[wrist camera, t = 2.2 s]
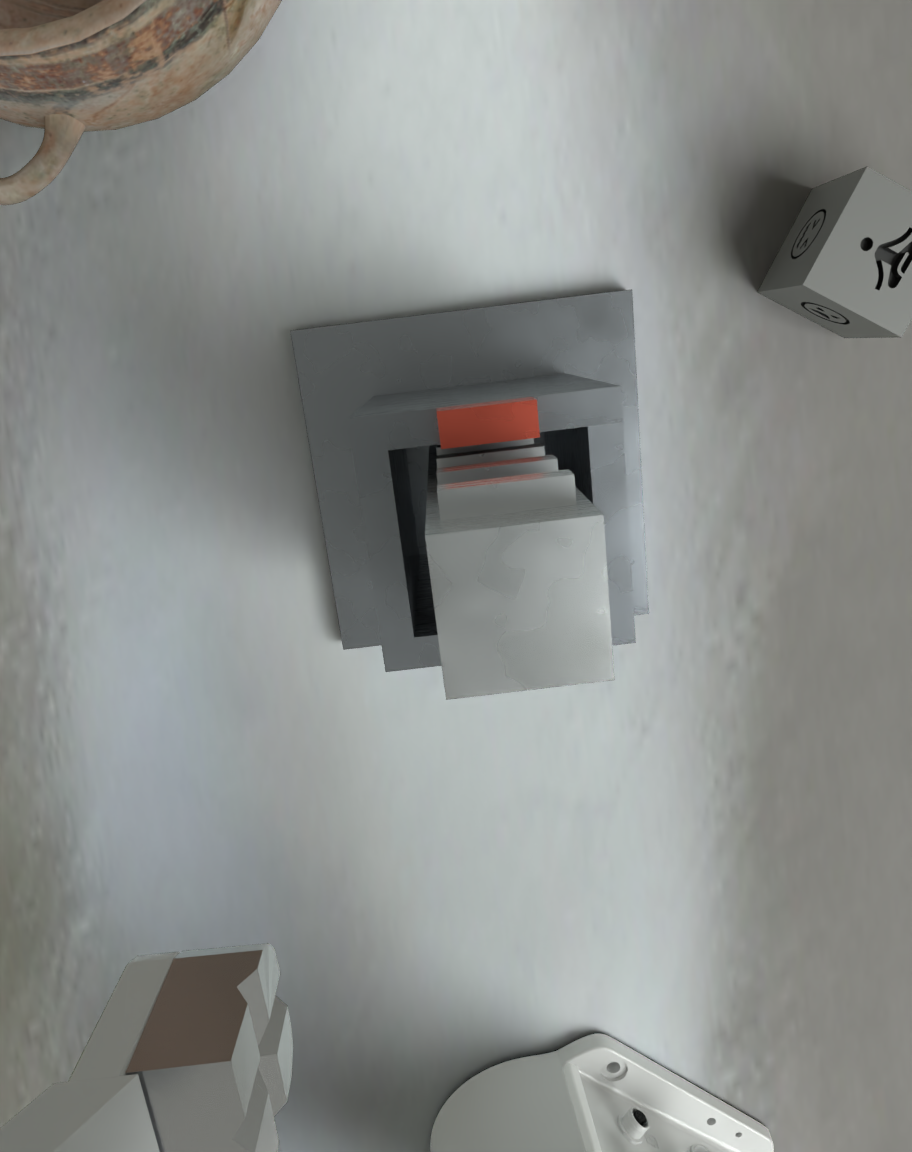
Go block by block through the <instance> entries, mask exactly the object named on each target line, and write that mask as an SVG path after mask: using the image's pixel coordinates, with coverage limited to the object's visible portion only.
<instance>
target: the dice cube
mask: <svg viewBox="0 0 912 1152" xmlns="http://www.w3.org/2000/svg"><path fill="white" fill-rule="evenodd" d="M758 293H760V294H762V295H763V296H765V297H767V298H769V299H771V300H773V301H775V302H777V303H779V304H781V305H783V306H785V307H786V308H788V309H790V310H792V311H794V312H796V313H798V314H800V315H802V316H804V317H806V318H807V319H809V320H811V321H813V322H815V323H817V324H819V325H821V326H823V327H825V328H827V329H828V330H830V331H832V332H834V333H836V334H838V335H840V336H842V337H844V338H884V337H902V335H903V334H904V332H905V330H906V329H907V327H908V325H909V323H910V322H911V320H912V191H910V190H909V189H907V188H905V187H903V186H901V185H900V184H898V183H896V182H894V181H893V180H891V179H889V178H887V177H885V176H884V175H882V174H880V173H878V172H877V171H875V170H873V169H871V168H869V167H868V166H867V167H865V168H862V169H860V170H857V171H855V172H852V173H850V174H847V175H845V176H843V177H840V178H838V179H835V180H833V181H830V182H828V183H825V184H823V185H821V186H818V187H816V188H813V189H812V190H811V192H810V194H809V196H808V198H807V200H806V202H805V203H804V205H803V207H802V209H801V211H800V213H799V215H798V217H797V218H796V220H795V222H794V224H793V226H792V228H791V230H790V232H789V234H788V235H787V237H786V239H785V241H784V243H783V245H782V247H781V249H780V250H779V252H778V254H777V256H776V258H775V260H774V262H773V264H772V265H771V267H770V269H769V271H768V273H767V275H766V277H765V279H764V280H763V282H762V284H761V286H760V288H759V290H758Z"/></svg>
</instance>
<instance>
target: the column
mask: <svg viewBox="0 0 912 1152" xmlns="http://www.w3.org/2000/svg"><path fill="white" fill-rule="evenodd" d="M425 541H426V548H427V556H428V564H429V571H430V579H431V587H432V594H433V602H434V610H435V618H436V625H437V633H438V641H439V648H440V656H441V664H442V671H443V679H444V687H445V694H446V700H448V699H457V698H465V697H474V696H482V695H491V694H499V693H508V692H516V691H525V690H533V689H542V688H550V687H559V686H567V685H576V684H584V683H593V682H601V681H610V680H614V666H613V651H612V636H611V620H610V605H609V590H608V575H607V560H606V545H605V529H604V515H603V514H602V513H601V512H600V511H599V510H598V509H597V508H596V507H595V506H594V505H593V504H592V503H591V502H590V501H589V500H588V499H587V498H586V497H585V496H584V494H583V493H582V492H581V491H580V490H579V489H578V488H577V487H576V486H575V477H574V474H573V473H572V472H571V471H570V470H569V469H567V470H559V469H558V460H557V458H556V457H555V456H554V455H546V456H545V450H544V446H543V445H542V444H541V443H537V444H534V438H531V439H523V440H514V441H506V442H497V443H489V444H481V445H472V446H464V447H456V448H447V449H441V444H437V445H429V462H428V483H427V503H426V524H425Z"/></svg>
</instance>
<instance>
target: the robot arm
mask: <svg viewBox="0 0 912 1152" xmlns="http://www.w3.org/2000/svg"><path fill="white" fill-rule="evenodd" d="M279 977H280V969H279V965H278V961H277V957H276V953H275V949H274V948H273V947H272V946H271V945H270V944H269V943H266V944H254V945H243V946H232V947H221V948H209V949H198V950H187V951H182V952H172V953H161V954H151V955H141V956H137V957H135V958H134V959H133V960H132V961H130V962H129V963H128V964H127V966H126V967H125V969H124V971H123V973H122V975H121V977H120V979H119V981H118V983H117V985H116V987H115V989H114V991H113V993H112V995H111V997H110V999H109V1001H108V1003H107V1005H106V1007H105V1009H104V1011H103V1013H102V1015H101V1017H100V1019H99V1021H98V1023H97V1025H96V1027H95V1029H94V1031H93V1033H92V1035H91V1037H90V1039H89V1041H88V1043H87V1045H86V1047H85V1049H84V1051H83V1053H82V1055H81V1057H80V1059H79V1061H78V1063H77V1065H76V1067H75V1069H74V1071H73V1073H72V1075H71V1077H70V1079H69V1081H68V1082H62V1083H54V1084H53V1085H51V1086H50V1087H49V1088H48V1089H47V1090H45V1091H44V1092H43V1093H42V1094H41V1095H39V1096H38V1097H37V1098H36V1099H35V1100H33V1101H32V1102H31V1103H30V1104H29V1105H27V1106H26V1107H25V1108H24V1109H23V1110H21V1111H20V1112H19V1113H18V1114H17V1115H15V1116H14V1117H13V1118H12V1119H11V1120H9V1121H8V1122H7V1123H6V1124H5V1125H3V1126H2V1127H1V1128H0V1152H277V1151H278V1146H279V1139H278V1134H277V1129H276V1125H275V1120H274V1117H275V1115H276V1114H277V1113H278V1112H279V1111H280V1110H281V1109H282V1107H283V1106H284V1105H285V1104H286V1103H287V1100H288V1094H289V1089H290V1083H291V1077H292V1058H293V1041H292V1029H291V1021H290V1016H289V1011H288V1006H287V1005H286V1004H285V1003H284V1002H283V1001H281V1000H280V999H279V998H278V997H277V996H276V995H275V994H276V990H277V986H278V981H279ZM611 1062H613V1063H611ZM430 1151H431V1152H774V1147H773V1142H772V1139H771V1135H770V1132H769V1130H768V1129H767V1128H766V1127H765V1126H764V1125H762V1124H761V1123H759V1122H757V1121H756V1120H754V1119H752V1118H751V1117H749V1116H747V1115H746V1114H744V1113H742V1112H740V1111H739V1110H737V1109H735V1108H733V1107H732V1106H730V1105H728V1104H726V1103H725V1102H723V1101H721V1100H719V1099H718V1098H716V1097H714V1096H712V1095H711V1094H709V1093H707V1092H706V1091H704V1090H702V1089H700V1088H699V1087H697V1086H695V1085H693V1084H692V1083H690V1082H688V1081H686V1080H685V1079H683V1078H681V1077H679V1076H678V1075H676V1074H674V1073H673V1072H671V1071H669V1070H667V1069H666V1068H664V1067H662V1066H660V1065H659V1064H657V1063H655V1062H653V1061H652V1060H650V1059H648V1058H646V1057H645V1056H643V1055H641V1054H640V1053H638V1052H636V1051H634V1050H633V1049H631V1048H629V1047H627V1046H626V1045H624V1044H622V1043H620V1042H619V1041H617V1040H615V1039H613V1038H612V1037H610V1036H608V1035H605V1034H591V1035H588V1036H585V1037H583V1038H580V1039H578V1040H576V1041H574V1042H572V1043H570V1044H568V1045H566V1046H564V1047H563V1048H561V1049H559V1050H557V1051H554V1052H550V1053H546V1054H541V1055H534V1056H528V1057H522V1058H517V1059H513V1060H510V1061H506V1062H503V1063H500V1064H498V1065H495V1066H493V1067H490V1068H488V1069H486V1070H484V1071H482V1072H480V1073H479V1074H477V1075H475V1076H474V1077H472V1078H471V1079H469V1080H468V1081H466V1082H465V1083H464V1084H463V1085H461V1086H460V1087H459V1088H458V1089H457V1090H456V1091H455V1092H454V1093H453V1094H452V1095H451V1096H450V1097H449V1099H448V1100H447V1101H446V1102H445V1104H444V1105H443V1107H442V1108H441V1110H440V1112H439V1114H438V1115H437V1118H436V1120H435V1122H434V1126H433V1129H432V1133H431V1140H430Z"/></svg>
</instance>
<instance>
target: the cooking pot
mask: <svg viewBox="0 0 912 1152" xmlns="http://www.w3.org/2000/svg"><path fill="white" fill-rule="evenodd" d="M281 1H282V0H0V118H1V119H4V120H7V121H10V122H13V123H16V124H19V125H23V126H27V127H35V128H43V129H45V133H44V138H43V142H42V144H41V146H40V148H39V150H38V152H37V153H36V154H35V156H34V157H33V158H32V159H31V160H30V161H29V163H27V164H26V165H25V166H24V167H23V168H22V169H21V170H19V171H18V172H17V173H15V174H13V175H12V176H9V177H6V178H0V205H11V204H16V203H20V202H23V201H25V200H27V199H29V198H31V197H33V196H34V195H36V194H37V193H39V192H40V191H41V190H43V189H44V188H45V187H46V186H47V185H48V184H50V183H51V182H52V181H53V180H54V179H55V178H56V176H57V175H58V174H59V173H60V171H61V170H62V169H63V167H64V166H65V164H66V162H67V161H68V159H69V157H70V156H71V154H72V152H73V150H74V149H75V147H76V145H77V143H78V141H79V139H80V137H81V135H82V134H83V132H84V131H100V130H116V129H120V128H124V127H127V126H131V125H135V124H139V123H142V122H146V121H150V120H154V119H157V118H160V117H162V116H164V115H166V114H168V113H170V112H172V111H174V110H176V109H178V108H180V107H182V106H184V105H186V104H188V103H190V102H192V101H194V100H196V99H197V98H199V97H200V96H201V95H202V94H204V93H205V92H206V91H208V90H209V89H210V88H211V87H213V86H214V85H215V84H217V83H218V82H219V81H220V80H222V79H223V78H224V77H226V76H227V75H228V74H229V73H230V72H231V71H232V70H233V69H234V68H235V66H236V65H237V64H238V63H239V62H240V61H241V60H242V58H243V57H244V56H245V55H246V54H247V53H248V52H249V50H250V49H251V48H252V47H253V46H254V45H255V44H256V42H257V41H258V40H259V38H260V37H261V35H262V33H263V32H264V30H265V28H266V26H267V25H268V23H269V21H270V20H271V18H272V16H273V15H274V13H275V11H276V10H277V8H278V6H279V5H280V3H281Z"/></svg>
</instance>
